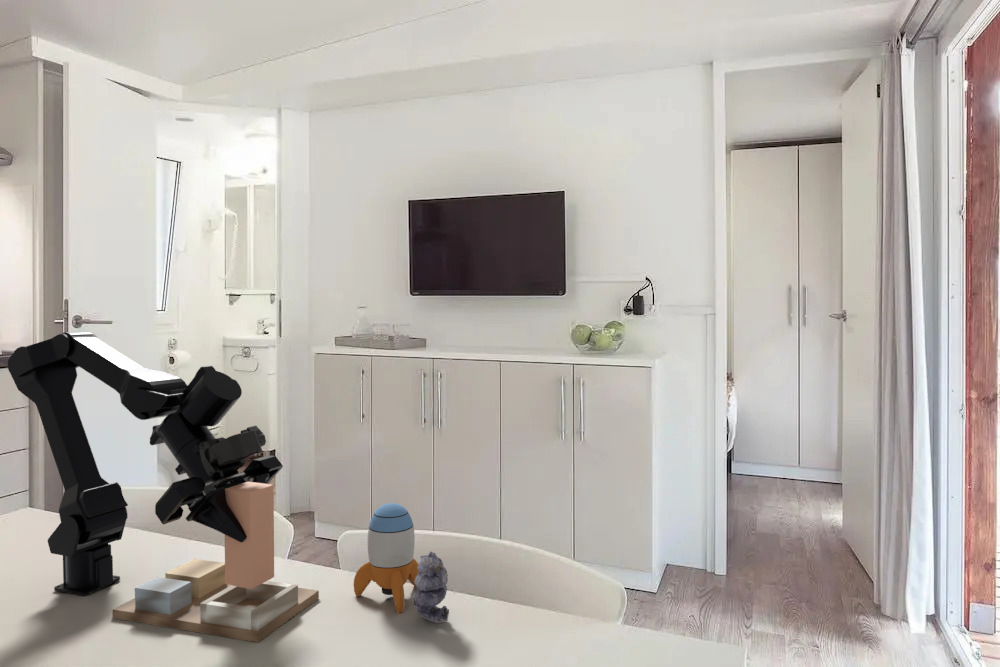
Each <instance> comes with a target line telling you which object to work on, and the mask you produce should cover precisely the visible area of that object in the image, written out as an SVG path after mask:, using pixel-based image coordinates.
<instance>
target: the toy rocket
mask: <svg viewBox="0 0 1000 667" xmlns="http://www.w3.org/2000/svg"><path fill="white" fill-rule="evenodd" d="M415 538H416V536H415V527H414V522H413V519H412V517H411V515H410V513H409V511H408V510H407V508H406V507H404V506H403V505H402V504H399V503H395V502H390V503H385V504H383V505H381V506H379V507H378V508H377V509H376V510H375V511H374V512H373V515H372V517H371V519H370V522H369V525H368V530H367V557H368V562H366V563H364V564H363V565H361V566H360V567H359V568H358V570H356V573H355V576H354V579H353V591H354V594H355V597H358V598H360V597H361V596H362V595H363V593H364V591H366V589H367V587H368V586H369V584H371V582H374V583H375V584H376V585H377V586H378V587H379V588H381V593H382V594H384V595H386V596H392V597H393V601H394V602H393V603H394V606H395V607H394V608H395V611H396V612H397V613H398V614H402V613H403V612H404V606H405V589H404V585H405V584H406V583H407V581H409V583H411V585H412V586H413V585H414V586H413V587H414V588H417V587H416V586H415V583H414V581H415V578H416V575H417V574H418V573H419V572H418V564H419V562H418V561H417V560H416V559H415V558H414V554H415Z"/></svg>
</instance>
